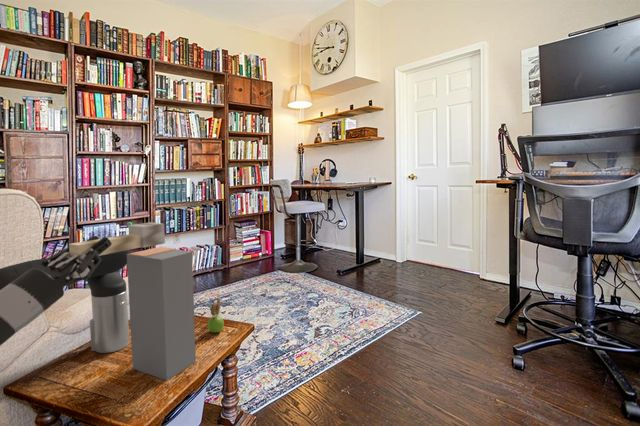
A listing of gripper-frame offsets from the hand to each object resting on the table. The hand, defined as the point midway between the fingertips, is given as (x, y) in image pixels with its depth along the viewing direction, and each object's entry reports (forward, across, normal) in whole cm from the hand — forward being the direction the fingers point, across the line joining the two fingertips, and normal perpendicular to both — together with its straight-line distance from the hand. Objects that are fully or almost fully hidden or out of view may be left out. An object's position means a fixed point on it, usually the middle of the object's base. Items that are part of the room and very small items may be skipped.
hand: (102, 239), depth 75 cm
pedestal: (-4, +4, +42) cm, 43 cm away
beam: (+2, 0, +5) cm, 5 cm away
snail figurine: (+15, +5, +54) cm, 56 cm away
